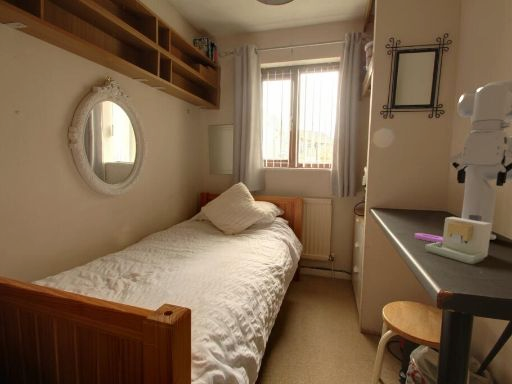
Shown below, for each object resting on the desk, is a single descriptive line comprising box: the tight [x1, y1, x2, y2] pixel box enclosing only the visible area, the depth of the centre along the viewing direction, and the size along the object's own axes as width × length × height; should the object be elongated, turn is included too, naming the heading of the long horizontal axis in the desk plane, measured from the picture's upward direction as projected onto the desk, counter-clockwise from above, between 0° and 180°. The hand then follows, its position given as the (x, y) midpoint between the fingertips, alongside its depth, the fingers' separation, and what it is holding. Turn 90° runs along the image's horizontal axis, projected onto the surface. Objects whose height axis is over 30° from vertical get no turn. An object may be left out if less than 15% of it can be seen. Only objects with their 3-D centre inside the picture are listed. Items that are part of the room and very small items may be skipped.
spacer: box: [447, 222, 473, 241], centre depth 79 cm, size 3×5×4 cm
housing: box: [441, 216, 493, 258], centre depth 82 cm, size 5×10×10 cm, turn 31°
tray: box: [424, 242, 486, 265], centre depth 79 cm, size 8×12×2 cm, turn 31°
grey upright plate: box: [451, 215, 482, 244], centre depth 82 cm, size 13×2×7 cm, turn 121°
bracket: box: [414, 232, 443, 245], centre depth 95 cm, size 13×6×7 cm, turn 45°
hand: (479, 184), depth 83 cm, fingers open, 9 cm apart
